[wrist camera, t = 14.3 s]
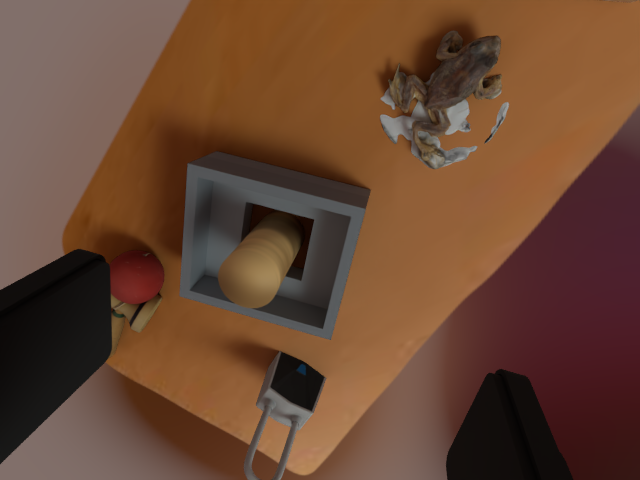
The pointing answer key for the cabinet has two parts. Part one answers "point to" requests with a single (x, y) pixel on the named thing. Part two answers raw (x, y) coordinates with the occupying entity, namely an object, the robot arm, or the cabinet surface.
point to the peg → (261, 260)
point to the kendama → (134, 291)
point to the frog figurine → (444, 98)
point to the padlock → (285, 403)
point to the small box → (622, 0)
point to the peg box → (234, 224)
